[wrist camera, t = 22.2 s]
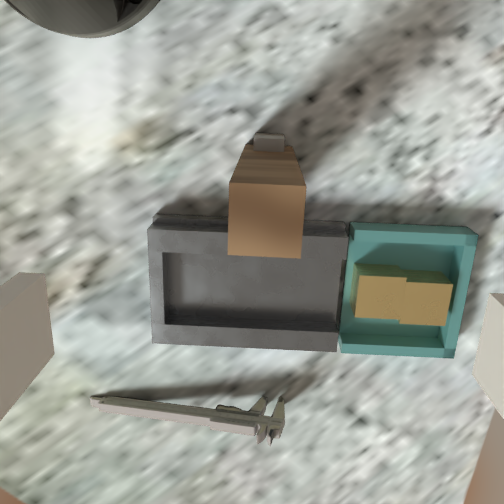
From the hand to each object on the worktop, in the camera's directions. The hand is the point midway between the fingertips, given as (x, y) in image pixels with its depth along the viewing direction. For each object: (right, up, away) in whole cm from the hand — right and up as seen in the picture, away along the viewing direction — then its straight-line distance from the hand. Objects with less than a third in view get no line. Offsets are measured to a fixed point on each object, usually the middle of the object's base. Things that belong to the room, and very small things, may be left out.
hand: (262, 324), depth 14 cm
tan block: (+15, -1, +30) cm, 33 cm away
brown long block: (+1, +9, +27) cm, 29 cm away
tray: (+13, -1, +30) cm, 33 cm away
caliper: (-7, -13, +36) cm, 39 cm away
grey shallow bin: (-1, 0, +30) cm, 31 cm away
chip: (+11, -1, +30) cm, 32 cm away
